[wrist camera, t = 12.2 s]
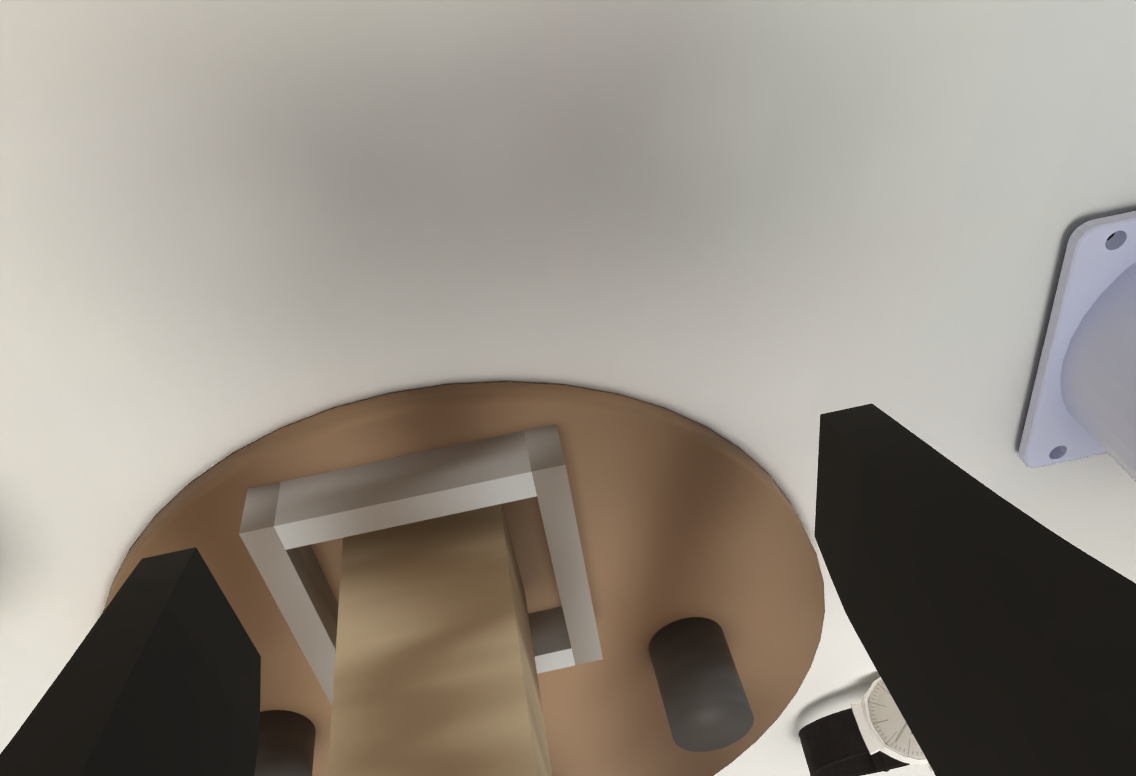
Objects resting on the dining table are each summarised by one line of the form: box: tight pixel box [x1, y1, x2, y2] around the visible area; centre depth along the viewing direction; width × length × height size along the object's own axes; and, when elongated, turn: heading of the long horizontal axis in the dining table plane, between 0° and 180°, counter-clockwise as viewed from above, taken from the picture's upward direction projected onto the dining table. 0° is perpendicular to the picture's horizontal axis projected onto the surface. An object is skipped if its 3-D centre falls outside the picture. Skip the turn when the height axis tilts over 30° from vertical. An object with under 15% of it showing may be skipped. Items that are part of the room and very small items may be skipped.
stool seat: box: [103, 382, 825, 776], centre depth 27 cm, size 22×22×4 cm
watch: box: [799, 677, 934, 776], centre depth 32 cm, size 8×5×4 cm, turn 102°
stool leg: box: [328, 504, 552, 776], centre depth 21 cm, size 4×4×8 cm
